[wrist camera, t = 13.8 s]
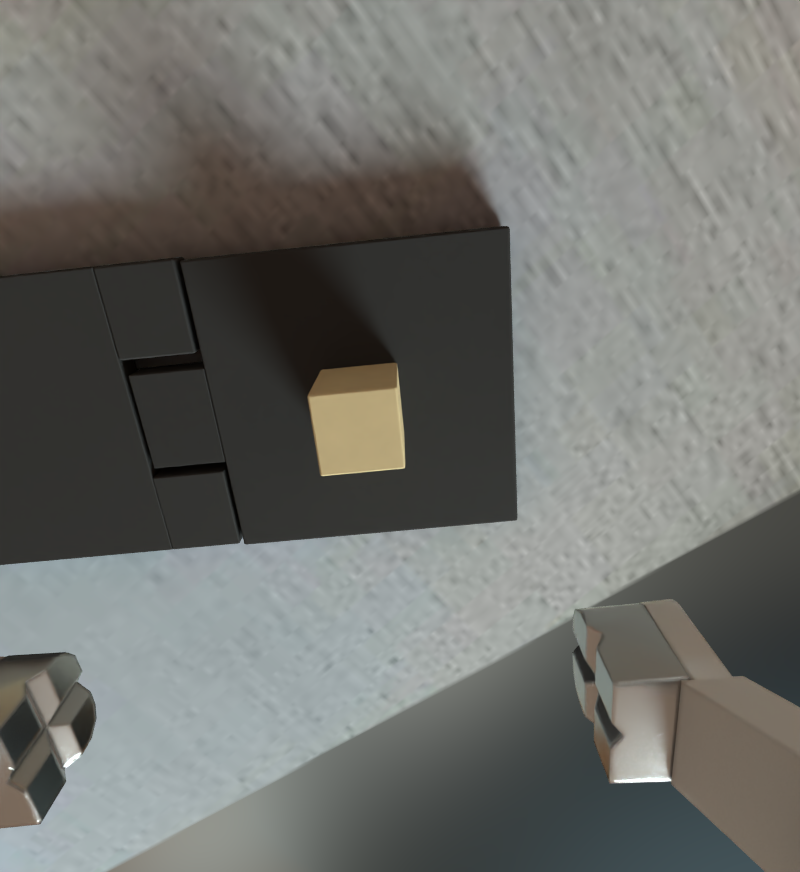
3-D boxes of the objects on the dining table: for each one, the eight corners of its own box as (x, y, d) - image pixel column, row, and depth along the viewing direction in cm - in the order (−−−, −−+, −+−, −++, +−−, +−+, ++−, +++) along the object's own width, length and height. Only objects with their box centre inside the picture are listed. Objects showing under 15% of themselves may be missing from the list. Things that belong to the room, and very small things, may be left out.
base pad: (184, 256, 21) (172, 258, 20) (246, 529, 26) (239, 543, 24) (-119, 289, 22) (-147, 292, 21) (-8, 552, 26) (-26, 567, 25)
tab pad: (503, 225, 21) (532, 226, 17) (512, 507, 25) (536, 567, 21) (113, 267, 21) (40, 277, 17) (186, 537, 26) (142, 601, 21)
